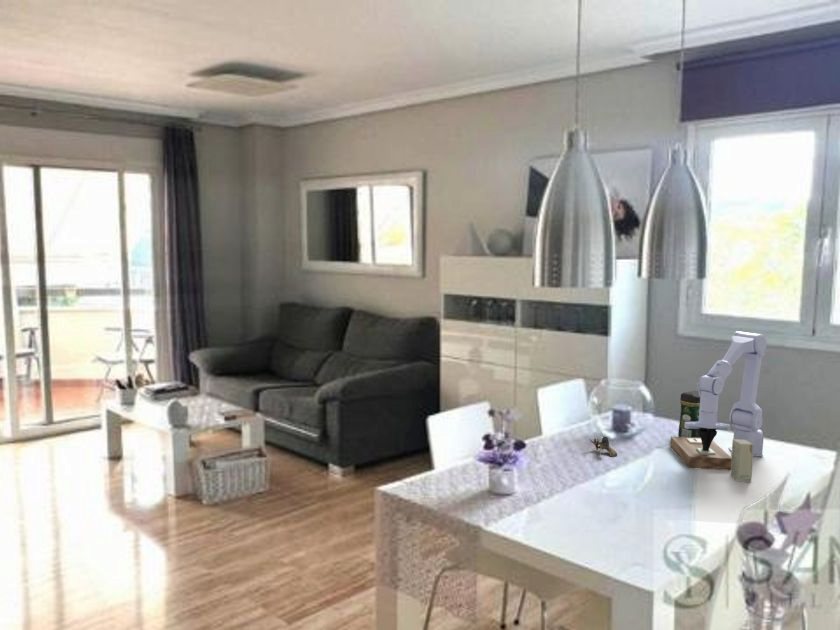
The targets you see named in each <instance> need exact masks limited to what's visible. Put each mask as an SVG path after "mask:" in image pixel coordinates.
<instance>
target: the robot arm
mask: <svg viewBox="0 0 840 630" xmlns="http://www.w3.org/2000/svg"><path fill="white" fill-rule="evenodd" d="M766 348H767V339H766V337H765V335H764V334H762V333H754V332H745V331H740V330H737V331H735V332H734V333H733V335H732V336H731V337H730V346H729V348H728V350H727V352H726V353H725V355H724V356H723V358H722V359H719V360H717V361H716V362H715V363H714V365H713V366H712V367H711V368H710V369H709V371H708V372H707V373H706V374H705V375H702V376H700V377H699V378H698V381H697V386H696V387H697V389H698V390H697V391H699V396H700V409H699V422H685V428H686V429H689V428H691V429H697V430H698V432H699V434H700V437H701V441H702V446H703V450H705V451H709V447H710V445H711V442H712V441H714V439H715V437H716V436H717V434H718V431H727V432H728V431H729V432H730V431H731V425H732V428H733V438H732V440H733V439H741V440H747V441H749V442H750V443H752V444H753V445H754V446H753V457H764V454H763V452H764V451H763V448H764V434H763V430H762V429H761V427H762V426H763V423H764V421H763V409H762V408H761V407H760V406H759V405H758V404H757V403H756V400H757V393H758V386H759V380H760V372H761V366H762V358H764V357H765V356H766V355H765V354H766V350H767V349H766ZM742 355H743V357H745V361H744V368H743V375H742V383H741V388H740V397H739V400H738V401H737V402H735V403H733V404H732V408H731V411H730V413H729V416H728V418H729V423H730V424H731V425H730V424H729V423H722V422H718V412H719V410H718V409H719V397H720V394H721V393H722V392H723V390H724V386H725V383H726V382H725V381H726V379H727V378H728V377H729V375H730V374H731V373H732V372H733V367H732V366H733V365H734V364H735V363H736V361H737V360H738V359H739V358H740V357H741V356H742ZM728 450H730V452H732V447H728Z"/></svg>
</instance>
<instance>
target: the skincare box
mask: <svg viewBox="0 0 840 630" xmlns="http://www.w3.org/2000/svg"><path fill="white" fill-rule="evenodd" d="M731 443H732V446H731V448H732V451H731V458H732V460H731V470H730V476H731V477H732V478H734V480H736V481H738V482H749V483H750V482H752V479H753V478H752V477H753V460H754V459H753V457H754V456H753V446H754V445H753V444H752V443H750V442H749V441H747V440H741V439H733V438H732V442H731Z"/></svg>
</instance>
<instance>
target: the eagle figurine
mask: <svg viewBox="0 0 840 630" xmlns="http://www.w3.org/2000/svg"><path fill="white" fill-rule="evenodd" d="M600 438H601V441H599V439H598V438H594V439H593V440H592V439H591V438H589V441H590V442H591V443H592V444H593V445H594V446H595V449H596V451H598V450H599V453H598V454H599V455H601V454H603V450H606V451H607V452H608V454H609V456H610V457H612V458H617V457H618V453H617V451H616V450H615V449H614V448H613V447H611V446H610V445H609V444H610V440H609V438H608V436H601V437H600Z"/></svg>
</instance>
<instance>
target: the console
mask: <svg viewBox="0 0 840 630" xmlns="http://www.w3.org/2000/svg"><path fill="white" fill-rule="evenodd" d="M686 438H694V437H678V436H670V442H669V447H670V449H671V450H672V451H673V452H674V453H675V455H677V457H678V458H679V459H680V460H681V461H682V462H683V464H684V465H685V466H686V467H687V469H695V468H701V469H702V470H716V471H717V470H718V471H719V470H721V471H731V460H732V456H730V455H729V454H728V453H727V452H726V451H725V450H724V449H723V448H722V447H720V446H719V444H717V443H716V442H715V441H714V440H712V442H711V445H710V447H709V448H710V449H712V450H713V451H714V452H715V455H706V454H699V453H698V452H697V451H696V448H703V446H702V444H689V443H688V442H687V441H686ZM697 439H701V438H697ZM701 469H700V470H701Z"/></svg>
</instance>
